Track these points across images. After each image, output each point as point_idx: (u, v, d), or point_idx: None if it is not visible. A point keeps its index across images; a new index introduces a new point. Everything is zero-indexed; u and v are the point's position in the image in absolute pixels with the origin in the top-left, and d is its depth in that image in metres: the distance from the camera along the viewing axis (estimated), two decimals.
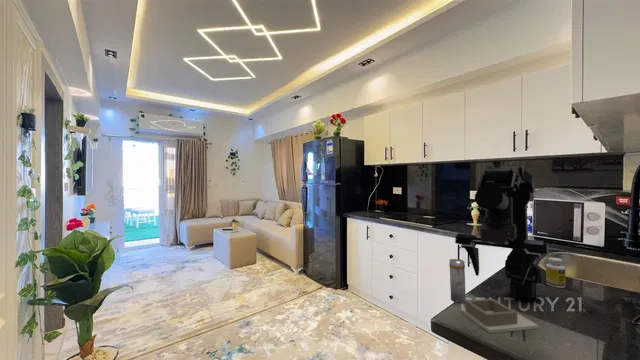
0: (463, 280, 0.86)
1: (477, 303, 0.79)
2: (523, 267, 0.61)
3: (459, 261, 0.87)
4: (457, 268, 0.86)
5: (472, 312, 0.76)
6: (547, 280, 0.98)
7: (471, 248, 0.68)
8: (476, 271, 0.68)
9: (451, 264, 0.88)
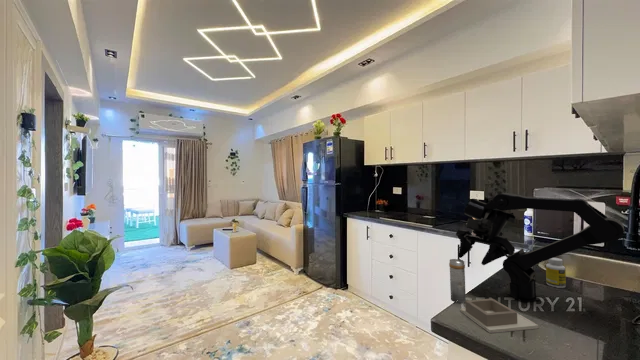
0: (463, 280, 0.86)
1: (477, 303, 0.79)
2: (487, 253, 0.86)
3: (459, 261, 0.87)
4: (457, 268, 0.86)
5: (472, 312, 0.76)
6: (547, 280, 0.98)
7: (462, 237, 0.96)
8: (459, 253, 0.94)
9: (451, 264, 0.88)
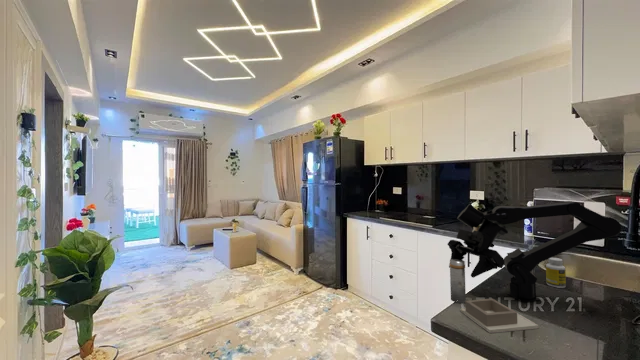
0: (463, 280, 0.86)
1: (477, 303, 0.79)
2: (477, 265, 0.85)
3: (459, 261, 0.87)
4: (457, 268, 0.86)
5: (472, 312, 0.76)
6: (547, 280, 0.98)
7: (453, 248, 0.95)
8: None
9: (451, 264, 0.88)
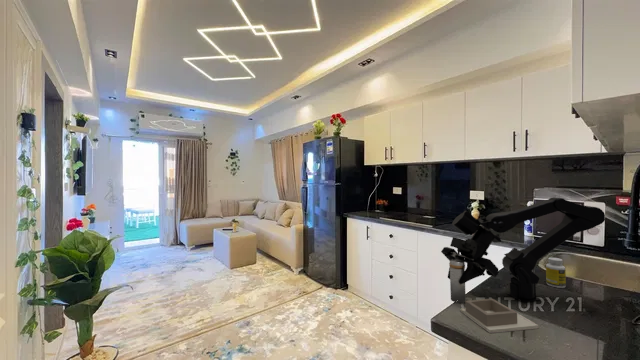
0: None
1: (477, 303, 0.79)
2: (465, 272, 0.86)
3: (459, 261, 0.87)
4: (457, 268, 0.86)
5: (472, 312, 0.76)
6: (547, 280, 0.98)
7: (452, 257, 0.92)
8: (448, 274, 0.90)
9: (451, 264, 0.88)
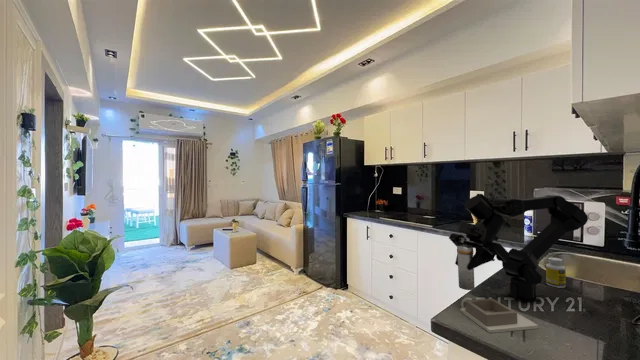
0: None
1: (477, 303, 0.79)
2: (473, 257, 0.82)
3: (467, 247, 0.83)
4: (465, 253, 0.82)
5: (472, 312, 0.76)
6: (547, 280, 0.98)
7: (460, 243, 0.88)
8: (456, 260, 0.86)
9: (459, 249, 0.84)
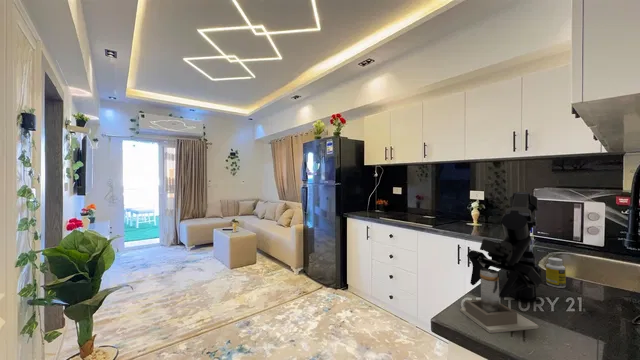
0: (497, 294, 0.73)
1: (477, 303, 0.79)
2: (507, 283, 0.71)
3: (492, 272, 0.74)
4: (490, 280, 0.73)
5: (472, 312, 0.76)
6: (547, 280, 0.98)
7: (475, 260, 0.81)
8: (472, 280, 0.79)
9: (483, 275, 0.75)
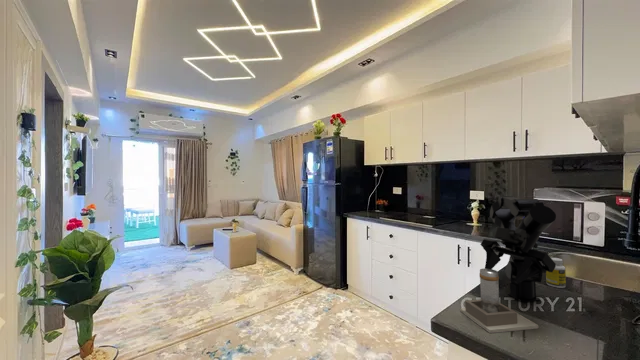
0: (497, 294, 0.73)
1: (477, 303, 0.79)
2: (521, 268, 0.73)
3: (491, 272, 0.74)
4: (490, 280, 0.73)
5: (472, 312, 0.76)
6: (547, 280, 0.98)
7: (489, 248, 0.83)
8: (486, 267, 0.81)
9: (482, 275, 0.75)
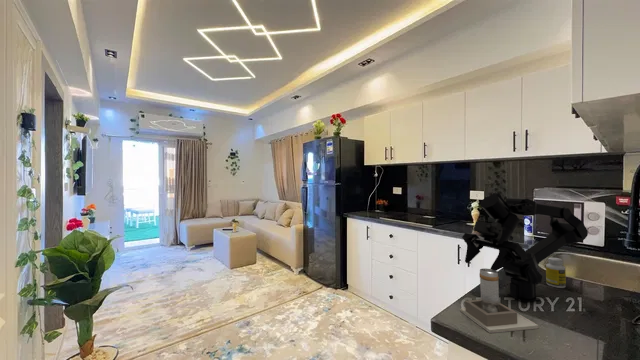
0: (497, 294, 0.73)
1: (477, 303, 0.79)
2: (496, 258, 0.79)
3: (491, 272, 0.74)
4: (490, 280, 0.73)
5: (472, 312, 0.76)
6: (547, 280, 0.98)
7: (469, 241, 0.89)
8: (466, 258, 0.88)
9: (482, 275, 0.75)
